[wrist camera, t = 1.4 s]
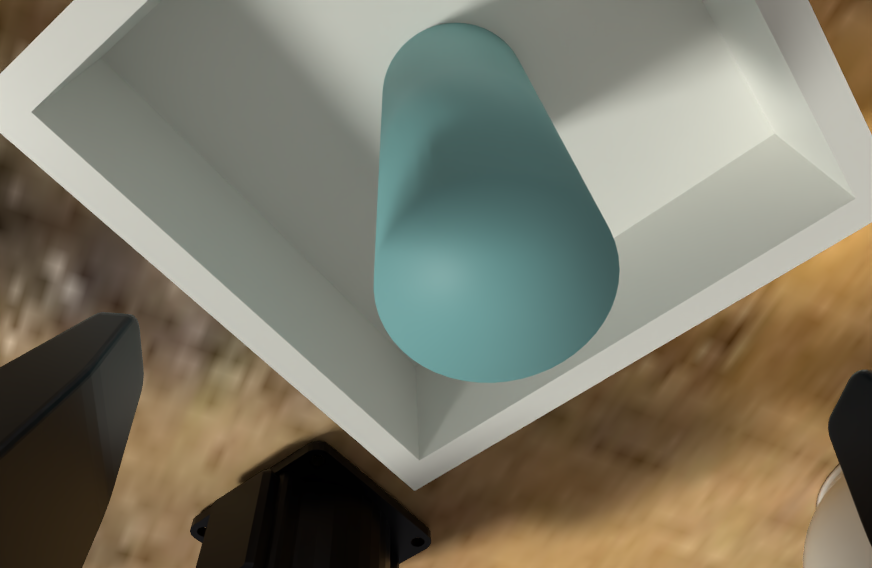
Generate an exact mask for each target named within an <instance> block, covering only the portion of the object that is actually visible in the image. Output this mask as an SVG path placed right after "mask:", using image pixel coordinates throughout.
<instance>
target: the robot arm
mask: <svg viewBox="0 0 872 568" xmlns="http://www.w3.org/2000/svg"><path fill="white" fill-rule="evenodd" d="M143 375H144V372H143V360H142V350H141V339H140V329H139V323H138V321H137V319H136V318H135V316H133V315H131V314H119V313H106V312H101V313H97V314H95V315H93V316H91V317H89V318H88V319H86V320H84V321H82V322H80V323H79V324H77V325H75V326H73V327H72V328H70V329H68V330H66V331H64V332H63V333H61V334H59V335H57V336H55V337H54V338H52V339H50V340H48V341H47V342H45V343H43V344H41V345H39V346H38V347H36V348H34V349H32V350H30V351H29V352H27V353H25V354H23V355H21V356H20V357H18V358H16V359H14V360H13V361H11V362H9V363H7V364H5V365H4V366H2V367H0V568H82V566H83V564H84V562H85V559H86V557H87V555H88V552H89V550H90V548H91V545H92V543H93V541H94V538H95V536H96V534H97V531H98V529H99V526H100V524H101V522H102V519H103V517H104V514H105V512H106V509H107V506H108V504H109V501H110V498H111V495H112V491H113V488H114V485H115V482H116V478H117V475H118V471H119V468H120V464H121V461H122V457H123V454H124V450H125V447H126V443H127V440H128V436H129V433H130V429H131V426H132V422H133V419H134V415H135V412H136V408H137V405H138V401H139V398H140V394H141V391H142V385H143ZM828 430H829V436H830V439H831V442H832V445H833V447H834V450H835V453H836V455H837V458H838V461H839V464H840V466H841V469H842V472H843V474H844V477H845V480H846V482H847V485H848V488H849V490H850V493H851V496H852V499H853V501H854V504H855V507H856V509H857V512H858V515H859V517H860V520H861V523H862V525H863V528H864V530H865V533H866V535H867V538H868V540H869V542H870V545H871V547H872V370H860V371H857V372H856V373H854V374H853V375H852V376H851V378H850V379H849V381H848V383H847V385H846V387H845V389H844V391H843V392H842V394H841V396H840V398H839V400H838V402H837V404H836V406H835V408H834V410H833V412H832V414H831V416H830V418H829V423H828ZM313 455H321V456H322V457H315V456H313ZM205 527H206V528H205ZM190 532H191V535H192V536H193V537H194V538H195V539H197V540H198V541H200V542H201V543H202V547H201V550H200V554H199V558H198V561H197V565H196V568H399V564H400V563H402V562H403V561H405V560H407V559H409V558H411V557H412V556H414V555H416V554H418V553H420V552H421V551H423V550H425V549H427V548H428V547H429V546H430V544H431V533H430V530H429V528H428V527H427V526H425V525H424V524H423V523H422V522H421V521H420V520H418V519H417V518H416V517H415V516H414V515H412V514H411V513H410V512H409V511H408V510H406V509H405V508H404V507H403V506H402V505H400V504H399V503H398V502H397V501H396V500H395V499H393V498H392V497H391V496H390V495H389V494H387V493H386V492H385V491H384V490H383V489H381V488H380V487H379V486H378V485H377V484H375V483H374V482H373V481H372V480H371V479H370V478H368V477H367V476H366V475H365V474H364V473H362V472H361V471H360V470H359V469H358V468H356V467H355V466H354V465H353V464H352V463H350V462H349V461H348V460H347V459H346V458H345V457H343V456H342V455H341V454H340V453H339V452H337V451H336V450H335V449H334V448H333V447H331V446H330V445H329V444H327V443H325V442H322V441H314V442H311V443H309V444H307V445H306V446H304V447H303V448H301V449H299V450H298V451H296V452H295V453H293V454H292V455H290V456H289V457H287V458H285V459H284V460H282V461H281V462H279V463H278V464H276V465H275V466H273V467H272V468H270V469H268V470H264V471H261V472H260V473H258V474H257V475H255V476H253V477H252V478H250V479H249V480H247V481H246V482H244V483H243V484H241V485H240V486H238V487H236V488H235V489H233V490H232V491H230V492H229V493H227V494H226V495H224V496H223V497H221V498H219V499H218V500H216V501H215V502H214V503H213V506H211V507H210V508H208V509H206V510H205V511H203V512H202V513H200V514H199V515H197V516H196V517H195V518H194V519H193V522H192V526H191V530H190Z"/></svg>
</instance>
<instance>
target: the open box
mask: <svg viewBox="0 0 872 568" xmlns="http://www.w3.org/2000/svg"><path fill="white" fill-rule="evenodd" d="M445 23H467V24H472V25H476V26H479V27H482V28H485V29H487V30H489V31H491V32H493V33H494V34H496V35H497V36H498V37H500V38H501V39H502V40H503V41H504V42H506V43H507V44H508V45H509V47H510V48H511V49H512V50H513V52H514V53H515V55H516V56H517V58H518V60H519V61H520V63H521V65H522V67H523V69H524V71H525V73H526V74H527V76H528V78H529V80H530V82H531V84H532V86H533V87H534V89H535V91H536V93H537V95H538V97H539V99H540V100H541V102H542V104H543V106H544V108H545V110H546V112H547V113H548V115H549V117H550V119H551V121H552V123H553V125H554V126H555V128H556V130H557V132H558V134H559V136H560V138H561V139H562V141H563V143H564V145H565V147H566V149H567V151H568V152H569V154H570V156H571V158H572V160H573V162H574V164H575V165H576V167H577V169H578V171H579V173H580V175H581V177H582V178H583V180H584V182H585V184H586V186H587V188H588V190H589V191H590V193H591V195H592V197H593V199H594V201H595V203H596V204H597V206H598V208H599V210H600V212H601V214H602V216H603V217H604V219H605V221H606V223H607V225H608V227H609V229H610V231H611V233H612V236H613V238H614V240H615V243H616V247H617V251H618V256H619V268H620V272H619V284H618V288H617V293H616V297H615V300H614V302H613V305H612V308H611V310H610V312H609V314H608V316H607V318H606V319H605V321H604V323H603V324H602V326H601V327H600V328H599V330H598V331H597V333H596V334H595V335H594V336H593V337H592V338H591V339H590V340H589V342H588V343H587V344H586V345H585V346H583V347H582V348H581V349H580V350H579V351H578V352H576V353H575V354H574V355H572V356H571V357H569V358H568V359H567V360H565V361H564V362H562V363H560V364H558V365H556V366H555V367H553V368H551V369H549V370H546V371H544V372H541V373H539V374H537V375H533V376H530V377H527V378H523V379H519V380H513V381H508V382H497V383H477V382H469V381H462V380H458V379H453V378H449V377H446V376H444V375H441V374H438V373H435V372H433V371H431V370H429V369H427V368H425V367H423V366H422V365H420V364H419V363H417V362H416V361H414V360H413V359H411V358H410V357H409V356H408V355H407V354H405V353H404V352H403V351H402V350H401V349H400V348H399V347H398V346H397V345H396V343H395V342H394V341H393V340H392V339H391V337H390V336H389V334H388V333H387V331H386V330H385V328H384V326H383V324H382V321H381V319H380V317H379V314H378V311H377V307H376V304H375V297H374V262H375V241H376V219H377V198H378V177H379V156H380V134H381V113H382V92H383V84H384V79H385V75H386V72H387V69H388V67H389V65H390V63H391V61H392V59H393V58H394V56H395V55H396V53H397V52H398V51H399V49H400V48H401V47H402V46H403V45H404V44H405V43H406V42H407V41H408V40H409V39H411V38H412V37H414V36H415V35H416V34H418V33H420V32H422V31H424V30H425V29H428V28H431V27H433V26H436V25H441V24H445ZM0 133H1V134H2V135H3V136H4V137H5V138H7V139H8V140H9V141H10V142H11V143H12V144H14V145H15V146H16V147H17V148H18V149H19V150H21V151H22V152H23V153H24V154H25V155H26V156H27V157H29V158H30V159H31V160H32V161H33V162H34V163H36V164H37V165H38V166H39V167H40V168H41V169H43V170H44V171H45V172H46V173H47V174H48V175H49V176H51V177H52V178H53V179H54V180H55V181H56V182H58V183H59V184H60V185H61V186H62V187H63V188H65V189H66V190H67V191H68V192H69V193H70V194H71V195H73V196H74V197H75V198H76V199H77V200H78V201H80V202H81V203H82V204H83V205H84V206H85V207H86V208H88V209H89V210H90V211H91V212H92V213H93V214H95V215H96V216H97V217H98V218H99V219H100V220H102V221H103V222H104V223H105V224H106V225H107V226H108V227H110V228H111V229H112V230H113V231H114V232H115V233H117V234H118V235H119V236H120V237H121V238H122V239H124V240H125V241H126V242H127V243H128V244H129V245H130V246H132V247H133V248H134V249H135V250H136V251H137V252H139V253H140V254H141V255H142V256H143V257H144V258H146V259H147V260H148V261H149V262H150V263H151V264H152V265H154V266H155V267H156V268H157V269H158V270H159V271H161V272H162V273H163V274H164V275H165V276H166V277H167V278H169V279H170V280H171V281H172V282H173V283H174V284H176V285H177V286H178V287H179V288H180V289H181V290H183V291H184V292H185V293H186V294H187V295H188V296H189V297H191V298H192V299H193V300H194V301H195V302H196V303H198V304H199V305H200V306H201V307H202V308H203V309H205V310H206V311H207V312H208V313H209V314H210V315H211V316H213V317H214V318H215V319H216V320H217V321H218V322H220V323H221V324H222V325H223V326H224V327H225V328H227V329H228V330H229V331H230V332H231V333H232V334H233V335H235V336H236V337H237V338H238V339H239V340H240V341H242V342H243V343H244V344H245V345H246V346H247V347H248V348H250V349H251V350H252V351H253V352H254V353H255V354H257V355H258V356H259V357H260V358H261V359H262V360H264V361H265V362H266V363H267V364H268V365H269V366H270V367H272V368H273V369H274V370H275V371H276V372H277V373H279V374H280V375H281V376H282V377H283V378H284V379H286V380H287V381H288V382H289V383H290V384H291V385H292V386H294V387H295V388H296V389H297V390H298V391H299V392H301V393H302V394H303V395H304V396H305V397H306V398H307V399H309V400H310V401H311V402H312V403H313V404H314V405H316V406H317V407H318V408H319V409H320V410H321V411H323V412H324V413H325V414H326V415H327V416H328V417H329V418H331V419H332V420H333V421H334V422H335V423H336V424H338V425H339V426H340V427H341V428H342V429H343V430H345V431H346V432H347V433H348V434H349V435H350V436H351V437H353V438H354V439H355V440H356V441H357V442H358V443H360V444H361V445H362V446H363V447H364V448H365V449H367V450H368V451H369V452H370V453H371V454H372V455H373V456H375V457H376V458H377V459H378V460H379V461H380V462H382V463H383V464H384V465H385V466H386V467H387V468H388V469H390V470H391V471H392V472H393V473H394V474H395V475H397V476H398V477H399V478H400V479H401V480H402V481H404V482H405V483H406V484H407V485H408V486H409V487H410V488H412V489H413V490H414V491H415V490H417V489H419V488H421V487H422V486H424V485H426V484H427V483H429V482H431V481H432V480H434V479H436V478H438V477H439V476H441V475H443V474H444V473H446V472H448V471H450V470H451V469H453V468H455V467H456V466H458V465H460V464H461V463H463V462H465V461H467V460H468V459H470V458H472V457H473V456H475V455H477V454H478V453H480V452H482V451H484V450H485V449H487V448H489V447H490V446H492V445H494V444H495V443H497V442H499V441H501V440H502V439H504V438H506V437H507V436H509V435H511V434H512V433H514V432H516V431H518V430H519V429H521V428H523V427H524V426H526V425H528V424H529V423H531V422H533V421H535V420H536V419H538V418H540V417H541V416H543V415H545V414H546V413H548V412H550V411H552V410H553V409H555V408H557V407H558V406H560V405H562V404H563V403H565V402H567V401H569V400H570V399H572V398H574V397H575V396H577V395H579V394H581V393H582V392H584V391H586V390H587V389H589V388H591V387H592V386H594V385H596V384H598V383H599V382H601V381H603V380H604V379H606V378H608V377H609V376H611V375H613V374H615V373H616V372H618V371H620V370H621V369H623V368H625V367H626V366H628V365H630V364H632V363H633V362H635V361H637V360H638V359H640V358H642V357H643V356H645V355H647V354H649V353H650V352H652V351H654V350H655V349H657V348H659V347H660V346H662V345H664V344H666V343H667V342H669V341H671V340H672V339H674V338H676V337H677V336H679V335H681V334H683V333H684V332H686V331H688V330H689V329H691V328H693V327H694V326H696V325H698V324H700V323H701V322H703V321H705V320H706V319H708V318H710V317H712V316H713V315H715V314H717V313H718V312H720V311H722V310H723V309H725V308H727V307H729V306H730V305H732V304H734V303H735V302H737V301H739V300H740V299H742V298H744V297H746V296H747V295H749V294H751V293H752V292H754V291H756V290H757V289H759V288H761V287H763V286H764V285H766V284H768V283H769V282H771V281H773V280H774V279H776V278H778V277H780V276H781V275H783V274H785V273H786V272H788V271H790V270H791V269H793V268H795V267H797V266H798V265H800V264H802V263H803V262H805V261H807V260H808V259H810V258H812V257H814V256H815V255H817V254H819V253H820V252H822V251H824V250H825V249H827V248H829V247H831V246H832V245H834V244H836V243H837V242H839V241H841V240H843V239H844V238H846V237H848V236H849V235H851V234H853V233H854V232H856V231H858V230H860V229H861V228H863V227H865V226H866V225H868V224H870V223H871V222H872V134H871V132H870V130H869V128H868V126H867V124H866V122H865V120H864V117H863V115H862V113H861V111H860V109H859V107H858V105H857V103H856V100H855V98H854V96H853V94H852V92H851V90H850V88H849V86H848V83H847V81H846V79H845V77H844V75H843V73H842V71H841V69H840V66H839V64H838V62H837V60H836V58H835V56H834V54H833V52H832V49H831V47H830V45H829V43H828V41H827V39H826V37H825V35H824V32H823V30H822V28H821V26H820V24H819V22H818V20H817V18H816V15H815V13H814V11H813V9H812V7H811V5H810V3H809V1H808V0H74V1H73V2H72V3H71V4H70V5H69V6H68V7H67V8H66V9H65V10H64V11H63V12H62V13H61V14H60V15H59V16H58V17H57V18H56V19H55V20H54V21H53V22H52V23H51V24H50V25H49V26H48V27H47V28H46V29H45V30H44V31H43V32H42V33H41V34H40V35H39V36H38V37H37V38H36V39H35V40H34V41H33V42H32V43H31V44H30V45H29V46H28V47H27V48H26V49H25V50H24V51H23V52H22V53H21V54H20V55H19V56H18V57H17V58H16V59H15V60H14V61H13V62H12V63H11V64H10V65H9V66H8V67H7V68H6V69H5V70H4V71H3V72H2V73H1V74H0Z"/></svg>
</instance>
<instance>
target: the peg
mask: <svg viewBox="0 0 872 568" xmlns="http://www.w3.org/2000/svg"><path fill="white" fill-rule="evenodd" d="M619 272H620V268H619V256H618V251H617V247H616V243H615V240H614V238H613V236H612V233H611V231H610V229H609V227H608V225H607V223H606V221H605V219H604V217H603V216H602V214H601V212H600V210H599V208H598V206H597V204H596V203H595V201H594V199H593V197H592V195H591V193H590V191H589V190H588V188H587V186H586V184H585V182H584V180H583V178H582V177H581V175H580V173H579V171H578V169H577V167H576V165H575V164H574V162H573V160H572V158H571V156H570V154H569V152H568V151H567V149H566V147H565V145H564V143H563V141H562V139H561V138H560V136H559V134H558V132H557V130H556V128H555V126H554V125H553V123H552V121H551V119H550V117H549V115H548V113H547V112H546V110H545V108H544V106H543V104H542V102H541V100H540V99H539V97H538V95H537V93H536V91H535V89H534V87H533V86H532V84H531V82H530V80H529V78H528V76H527V74H526V73H525V71H524V69H523V67H522V65H521V63H520V61H519V60H518V58H517V56H516V55H515V53H514V52H513V50H512V49H511V48H510V47H509V45H508V44H507V43H506V42H504V41H503V40H502V39H501V38H500V37H498V36H497V35H496V34H494V33H493V32H491V31H489V30H487V29H485V28H482V27H479V26H476V25H472V24H467V23H445V24H441V25H436V26H433V27H431V28H428V29H425V30H424V31H422V32H420V33H418V34H416V35H415V36H414V37H412V38H411V39H409V40H408V41H407V42H406V43H405V44H404V45H403V46H402V47H401V48H400V49H399V51H398V52H397V53H396V55H395V56H394V58H393V59H392V61H391V63H390V65H389V67H388V69H387V72H386V75H385V79H384V84H383V92H382V113H381V134H380V156H379V177H378V198H377V219H376V241H375V262H374V297H375V304H376V307H377V311H378V314H379V317H380V319H381V321H382V324H383V326H384V328H385V330H386V331H387V333H388V334H389V336H390V337H391V339H392V340H393V341H394V342H395V343H396V345H397V346H398V347H399V348H400V349H401V350H402V351H403V352H404V353H405V354H407V355H408V356H409V357H410V358H411V359H413V360H414V361H416V362H417V363H419V364H420V365H422V366H423V367H425V368H427V369H429V370H431V371H433V372H435V373H438V374H441V375H444V376H446V377H449V378H453V379H458V380H462V381H469V382H477V383H497V382H508V381H513V380H519V379H523V378H527V377H530V376H533V375H537V374H539V373H541V372H544V371H546V370H549V369H551V368H553V367H555V366H556V365H558V364H560V363H562V362H564V361H565V360H567V359H568V358H569V357H571V356H572V355H574V354H575V353H576V352H578V351H579V350H580V349H581V348H582V347H583V346H585V345H586V344H587V343H588V342H589V340H590V339H591V338H592V337H593V336H594V335H595V334H596V333H597V331H598V330H599V328H600V327H601V326H602V324H603V323H604V321H605V319H606V318H607V316H608V314H609V312H610V310H611V308H612V305H613V302H614V300H615V297H616V293H617V288H618V284H619Z"/></svg>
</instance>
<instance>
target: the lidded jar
mask: <svg viewBox="0 0 872 568" xmlns="http://www.w3.org/2000/svg"><path fill="white" fill-rule="evenodd" d="M803 568H872V547H871V545H870V542H869V540H868V538H867V535H866V533H865V530H864V528H863V525H862V523H861V520H860V517H859V515H858V512H857V509H856V507H855V504H854V501H853V499H852V496H851V493H850V490H849V488H848V485H847V482H846V480H845V477H844V474H843V472H842V469H841V466H840V464H839V465H838V466H837V467H836V468H835V469H834V470H833V471H832V473H831V474H830V475H829V476H828V477H827V479H826V480H825V482H824V484H823V485H822V487H821V489H820V492H819V494H818V498H817V503H816V510H815V512H814V514H813V517H812V519H811V522H810V524H809V527H808V530H807V534H806V539H805V544H804V552H803Z"/></svg>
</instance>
